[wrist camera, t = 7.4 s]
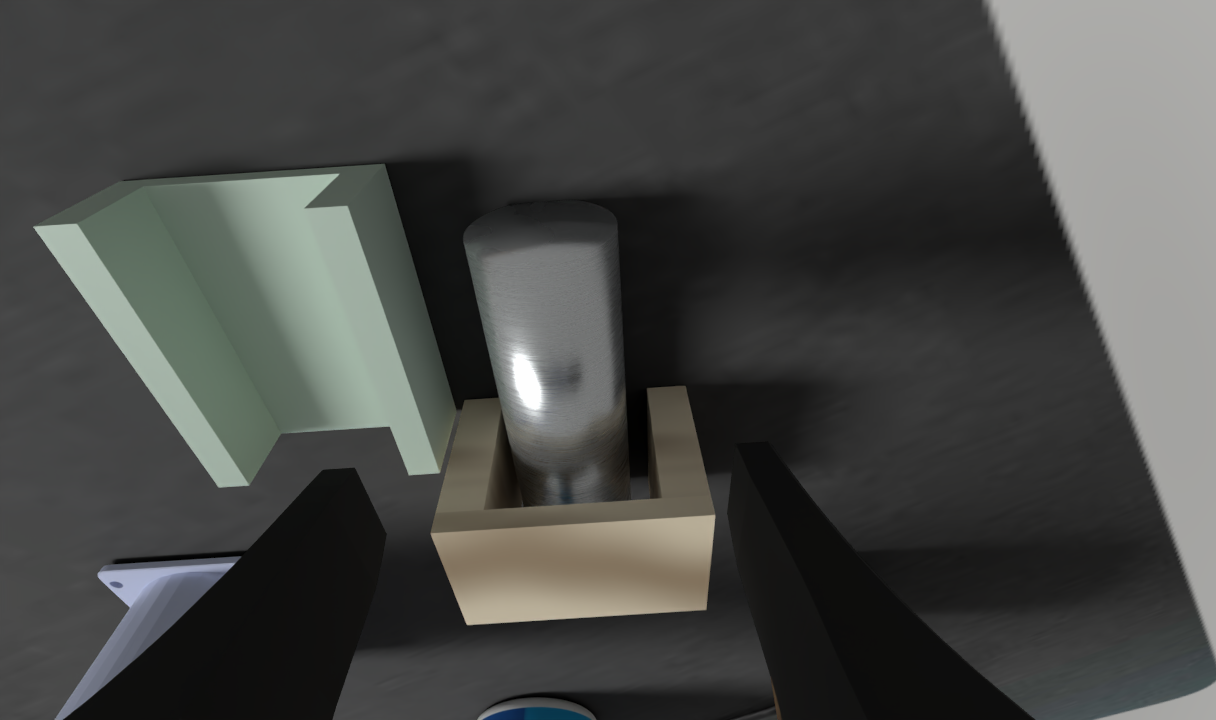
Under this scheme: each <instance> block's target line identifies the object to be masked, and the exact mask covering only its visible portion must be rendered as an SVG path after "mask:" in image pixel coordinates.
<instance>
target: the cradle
mask: <svg viewBox="0 0 1216 720" xmlns="http://www.w3.org/2000/svg"><path fill="white" fill-rule="evenodd" d="M33 227H34V228H35V230H36V231H37V233H38V234H39V235H40V237H41V238H42V240H43V241H44V242H45V244H46V245H47V247H48V248H49V249H50V251H51V252H52V254H53V255H54V256H55V258H56V259H57V261H58V262H59V263H60V265H61V266H62V268H63V269H64V271H65V272H66V273H67V275H68V276H69V278H70V279H71V280H72V282H73V283H74V285H75V286H76V287H77V289H78V290H79V292H80V293H81V294H82V296H83V297H84V299H85V300H86V301H87V303H88V304H89V306H90V307H91V308H92V310H93V311H94V313H95V314H96V315H97V317H98V318H99V320H100V321H101V323H102V324H103V325H104V327H105V328H106V330H107V331H108V332H109V334H110V335H111V337H112V338H113V339H114V341H115V342H116V344H117V345H118V346H119V348H120V349H121V351H122V352H123V353H124V355H125V356H126V358H127V359H128V360H129V362H130V363H131V365H132V366H133V368H134V369H135V370H136V372H137V373H138V375H139V376H140V377H141V379H142V380H143V382H144V383H145V384H146V386H147V387H148V389H149V390H150V391H151V393H152V394H153V396H154V397H155V398H156V400H157V401H158V403H159V404H160V405H161V407H162V408H163V410H164V411H165V412H166V414H167V415H168V417H169V418H170V420H171V421H172V422H173V424H174V425H175V427H176V428H177V429H178V431H179V432H180V434H181V435H182V436H183V438H184V439H185V441H186V442H187V443H188V445H189V446H190V448H191V449H192V450H193V452H194V453H195V455H196V456H197V457H198V459H199V460H200V462H201V463H202V465H203V466H204V467H205V469H206V470H207V472H208V473H209V474H210V476H211V477H212V479H213V480H214V481H215V483H216V484H217V486H218V487H233V486H248V485H250V484H251V482H252V480H253V479H254V477H255V476H256V474H257V472H258V471H259V469H260V467H261V466H262V464H263V462H264V461H265V459H266V458H267V456H268V454H269V453H270V451H271V449H272V448H273V446H274V444H275V443H276V441H277V439H278V438H279V436H280V435H281V433H295V432H310V431H326V430H341V429H356V428H372V427H387V426H390V428H391V430H392V433H393V436H394V438H395V441H396V443H397V446H398V448H399V451H400V453H401V456H402V458H403V461H404V463H405V466H406V468H407V471H408V473H409V475H419V474H434V473H440V471H441V467H442V463H443V460H444V456H445V452H446V448H447V445H448V441H449V437H450V433H451V430H452V426H453V422H454V418H455V415H456V407H455V404H454V401H453V397H452V394H451V390H450V387H449V383H448V380H447V377H446V373H445V370H444V366H443V363H442V359H441V356H440V352H439V349H438V346H437V342H436V339H435V335H434V332H433V328H432V325H431V321H430V318H429V315H428V311H427V308H426V304H425V301H424V297H423V294H422V291H421V287H420V284H419V280H418V277H417V273H416V270H415V266H414V263H413V260H412V256H411V253H410V249H409V246H408V242H407V239H406V235H405V232H404V229H403V225H402V222H401V218H400V215H399V211H398V208H397V205H396V201H395V198H394V194H393V191H392V187H391V184H390V180H389V177H388V174H387V170H386V167H385V164H373V165H358V166H343V167H328V168H313V169H298V170H283V171H268V172H253V173H238V174H223V175H208V176H192V177H177V178H162V179H147V180H132V181H120V182H118V183H116V184H114V185H112V186H110V187H108V188H106V189H104V190H102V191H100V192H99V193H97V194H95V195H93V196H91V197H89V198H87V199H85V200H83V201H81V202H79V203H77V204H76V205H74V206H72V207H70V208H68V209H66V210H64V211H62V212H60V213H58V214H56V215H54V216H53V217H51V218H49V219H47V220H45V221H43V222H41V223H39V224H37V225H35V226H33Z"/></svg>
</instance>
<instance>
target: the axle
mask: <svg viewBox="0 0 1216 720" xmlns="http://www.w3.org/2000/svg"><path fill="white" fill-rule="evenodd" d="M463 242H464V247H465V251H466V255H467V260H468V264H469V269H470V273H471V277H472V282H473V286H474V290H475V295H476V299H477V304H478V308H479V312H480V317H481V321H482V325H483V330H484V334H485V339H486V343H487V347H488V352H489V356H490V361H491V365H492V369H493V374H494V378H495V382H496V387H497V391H498V396H499V400H500V404H501V409H502V413H503V417H504V422H505V426H506V431H507V435H508V439H509V444H510V448H511V452H512V457H513V461H514V466H515V470H516V474H517V479H518V483H519V487H520V492H521V496H522V501H523V505H524V507H536V506H552V505H567V504H583V503H598V502H614V501H629V500H631V487H630V466H629V446H628V425H627V405H626V385H625V364H624V344H623V323H622V303H621V283H620V262H619V242H618V223H617V219H616V217H615V216H614V214H613V213H611V212H610V211H609V210H607V209H606V208H604V207H602V206H599V205H596V204H593V203H590V202H585V201H579V200H564V201H549V202H535V203H520V204H513V205H509V206H505V207H502V208H499V209H496V210H494V211H491V212H489V213H487V214H485V215H483V216H481V217H480V218H478V219H477V220H475V221H474V222H473V223H471V224H470V225H469V226H468V228H467V229H466V231H465V232H464V235H463Z"/></svg>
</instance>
